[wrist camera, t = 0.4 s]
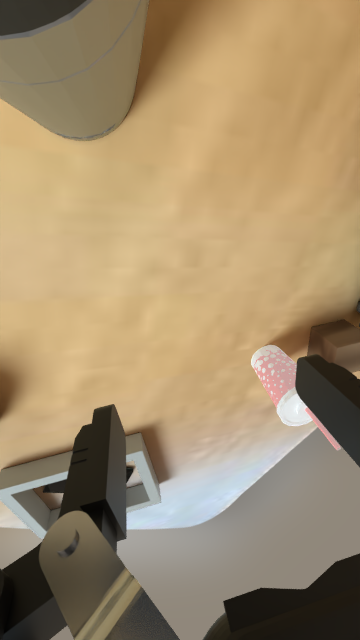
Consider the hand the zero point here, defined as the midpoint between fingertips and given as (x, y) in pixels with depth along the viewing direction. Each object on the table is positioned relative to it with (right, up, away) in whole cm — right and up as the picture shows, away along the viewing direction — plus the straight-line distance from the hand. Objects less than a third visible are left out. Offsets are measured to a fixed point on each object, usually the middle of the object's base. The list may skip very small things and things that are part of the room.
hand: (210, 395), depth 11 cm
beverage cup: (+11, -2, +25) cm, 27 cm away
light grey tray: (-16, -22, +30) cm, 41 cm away
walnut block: (+19, +1, +25) cm, 32 cm away
